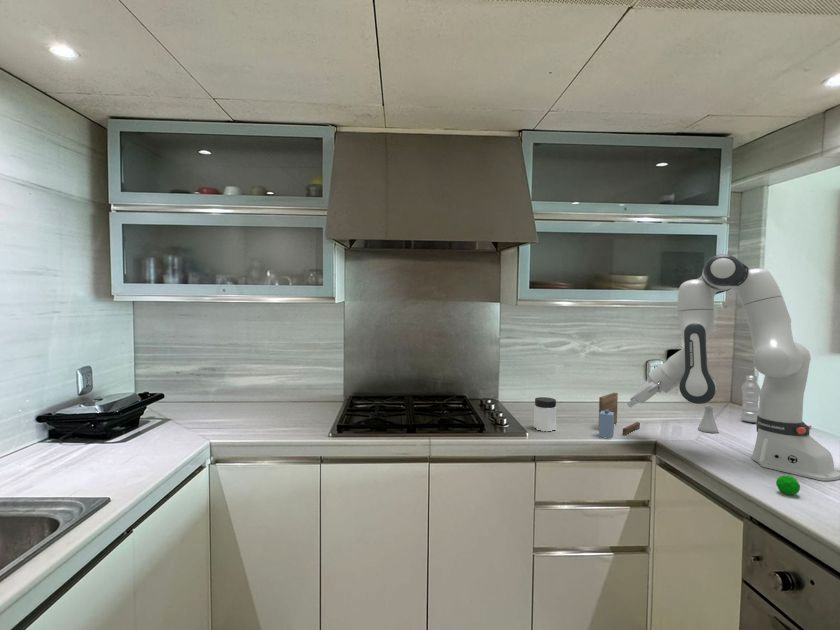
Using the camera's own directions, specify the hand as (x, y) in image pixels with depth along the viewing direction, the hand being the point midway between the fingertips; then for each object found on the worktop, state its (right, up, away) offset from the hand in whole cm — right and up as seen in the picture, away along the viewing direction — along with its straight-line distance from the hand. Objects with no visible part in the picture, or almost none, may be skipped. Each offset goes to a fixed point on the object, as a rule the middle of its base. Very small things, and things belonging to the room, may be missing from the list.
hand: (630, 403), depth 169 cm
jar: (-28, -13, +14) cm, 34 cm away
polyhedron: (+21, -16, -46) cm, 53 cm away
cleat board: (+2, -13, +14) cm, 20 cm away
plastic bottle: (+64, -14, +27) cm, 71 cm away
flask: (+37, -14, +13) cm, 42 cm away
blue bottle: (-7, -13, +5) cm, 16 cm away
